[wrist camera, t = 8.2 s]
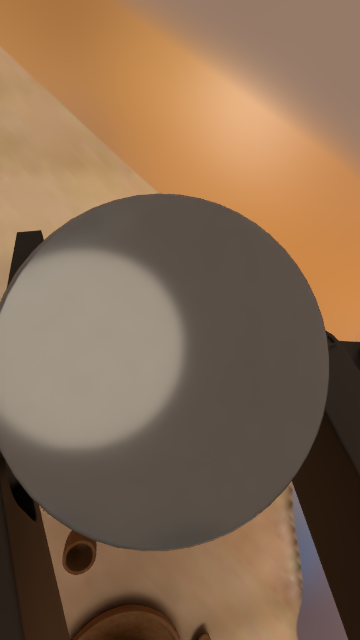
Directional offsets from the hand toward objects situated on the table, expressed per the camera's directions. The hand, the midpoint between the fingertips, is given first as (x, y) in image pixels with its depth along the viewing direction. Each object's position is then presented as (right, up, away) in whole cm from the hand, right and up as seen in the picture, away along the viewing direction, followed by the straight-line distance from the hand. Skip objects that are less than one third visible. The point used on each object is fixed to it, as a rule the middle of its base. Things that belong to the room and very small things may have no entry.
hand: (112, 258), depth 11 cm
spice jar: (0, -4, +2) cm, 4 cm away
